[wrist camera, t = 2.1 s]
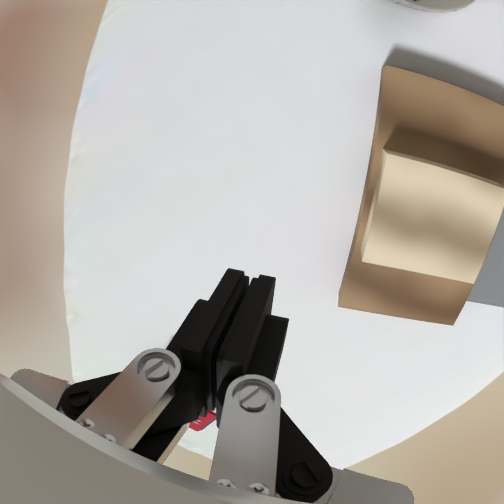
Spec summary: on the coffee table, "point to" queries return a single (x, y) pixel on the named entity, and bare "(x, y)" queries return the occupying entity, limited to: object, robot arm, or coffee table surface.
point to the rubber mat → (491, 273)
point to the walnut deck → (434, 149)
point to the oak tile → (431, 218)
